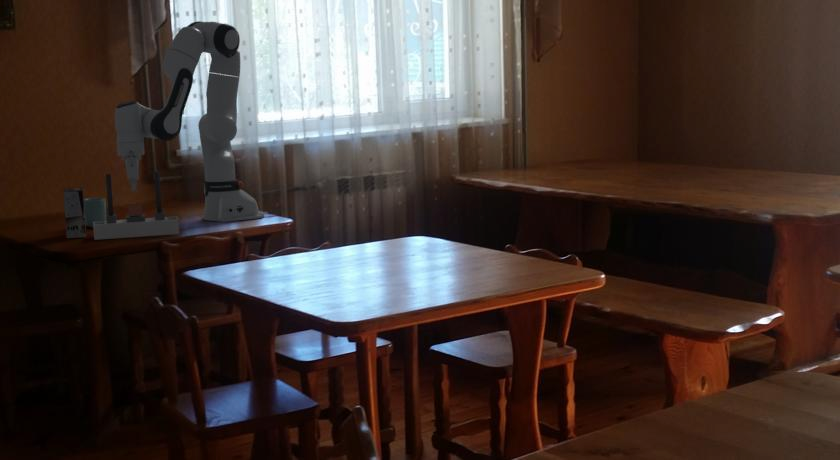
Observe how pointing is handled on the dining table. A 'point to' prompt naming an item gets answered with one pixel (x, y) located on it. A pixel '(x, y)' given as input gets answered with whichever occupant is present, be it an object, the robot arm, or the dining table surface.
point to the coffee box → (74, 212)
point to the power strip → (135, 227)
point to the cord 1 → (110, 201)
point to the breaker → (135, 210)
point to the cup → (94, 210)
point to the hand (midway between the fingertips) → (134, 190)
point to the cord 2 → (158, 198)
